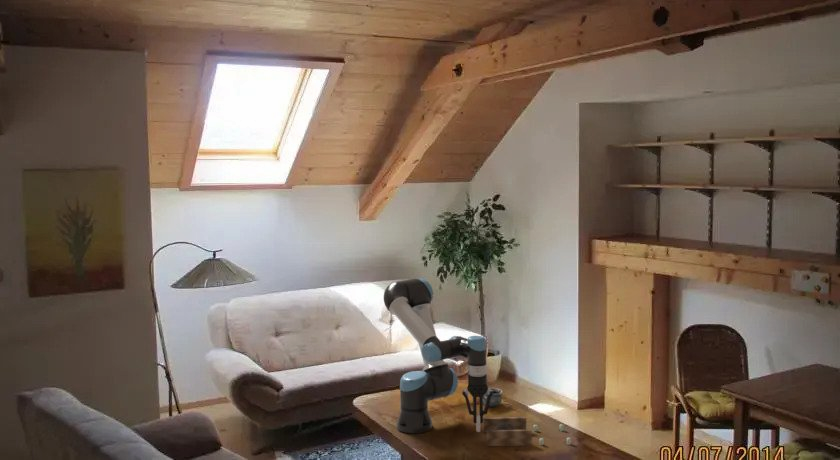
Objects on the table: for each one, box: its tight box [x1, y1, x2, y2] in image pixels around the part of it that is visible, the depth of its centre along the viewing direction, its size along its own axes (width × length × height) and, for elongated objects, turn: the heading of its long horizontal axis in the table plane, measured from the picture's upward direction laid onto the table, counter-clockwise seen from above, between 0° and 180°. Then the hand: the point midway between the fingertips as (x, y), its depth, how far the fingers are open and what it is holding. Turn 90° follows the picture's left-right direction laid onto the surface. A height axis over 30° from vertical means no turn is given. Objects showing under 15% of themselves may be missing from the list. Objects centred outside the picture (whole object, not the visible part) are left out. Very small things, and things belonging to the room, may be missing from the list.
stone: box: [493, 422, 514, 430], centre depth 308 cm, size 10×8×10 cm
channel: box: [482, 416, 533, 447], centre depth 309 cm, size 18×16×6 cm
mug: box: [483, 387, 503, 408], centre depth 348 cm, size 10×12×10 cm
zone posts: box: [533, 423, 572, 446], centre depth 309 cm, size 13×17×2 cm
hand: (478, 430), depth 308 cm, fingers closed
